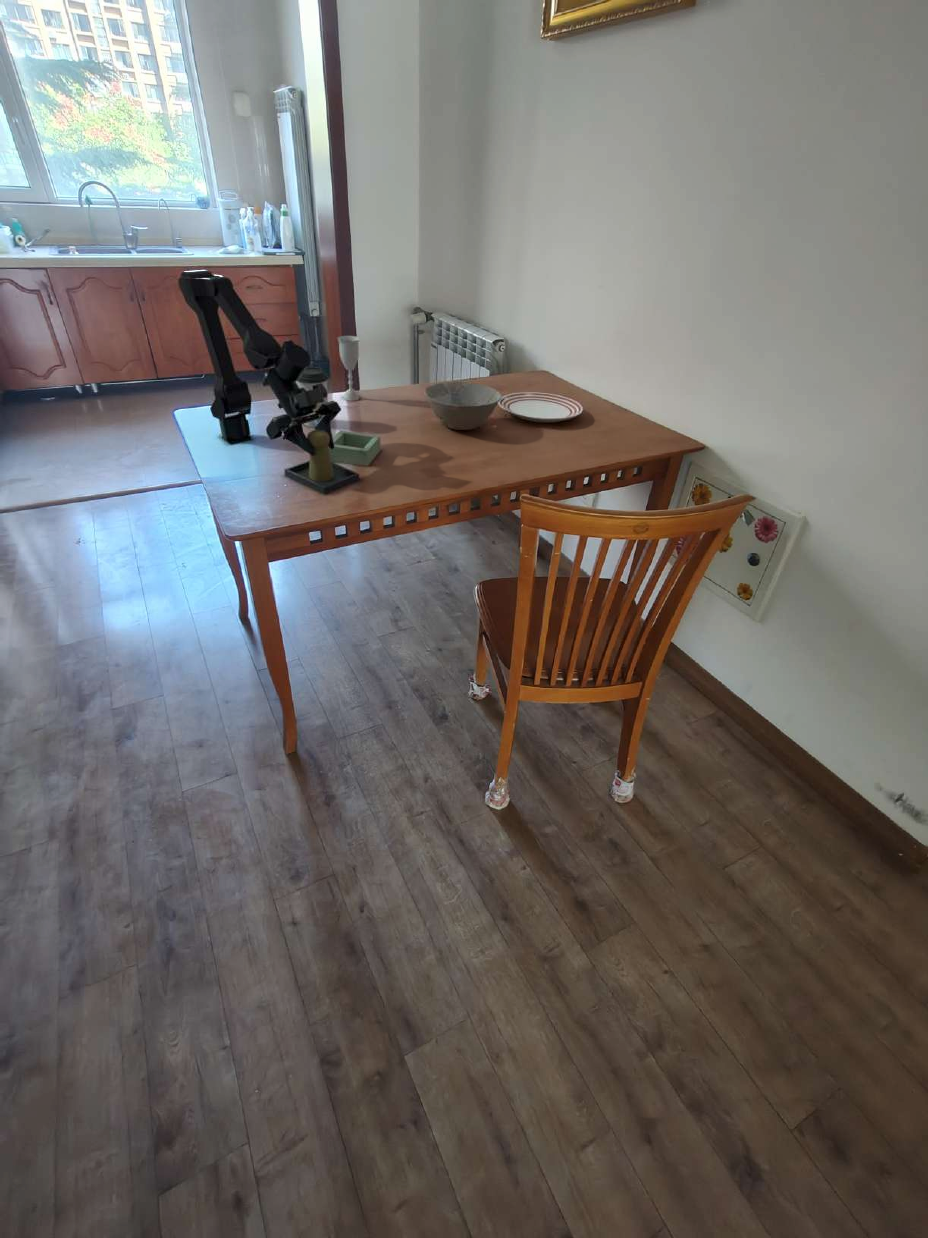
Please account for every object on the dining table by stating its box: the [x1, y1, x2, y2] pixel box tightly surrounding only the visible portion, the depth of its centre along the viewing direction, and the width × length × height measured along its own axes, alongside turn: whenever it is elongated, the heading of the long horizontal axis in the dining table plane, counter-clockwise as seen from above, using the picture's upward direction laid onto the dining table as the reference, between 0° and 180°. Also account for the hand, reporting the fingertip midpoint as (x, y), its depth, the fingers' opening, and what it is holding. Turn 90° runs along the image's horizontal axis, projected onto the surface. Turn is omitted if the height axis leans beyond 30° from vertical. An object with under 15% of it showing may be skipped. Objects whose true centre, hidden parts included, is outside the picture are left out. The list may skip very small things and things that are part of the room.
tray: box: [284, 459, 360, 495], centre depth 144 cm, size 14×11×2 cm
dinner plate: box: [497, 391, 584, 424], centre depth 192 cm, size 28×27×3 cm
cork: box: [306, 429, 334, 481], centre depth 141 cm, size 6×6×11 cm
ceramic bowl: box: [423, 381, 503, 431], centre depth 176 cm, size 22×23×10 cm
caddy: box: [328, 429, 381, 467], centre depth 155 cm, size 11×11×4 cm
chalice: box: [337, 335, 360, 402], centre depth 187 cm, size 7×7×18 cm
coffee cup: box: [296, 366, 329, 428], centre depth 169 cm, size 9×9×15 cm
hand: (323, 451), depth 140 cm, fingers open, 5 cm apart
